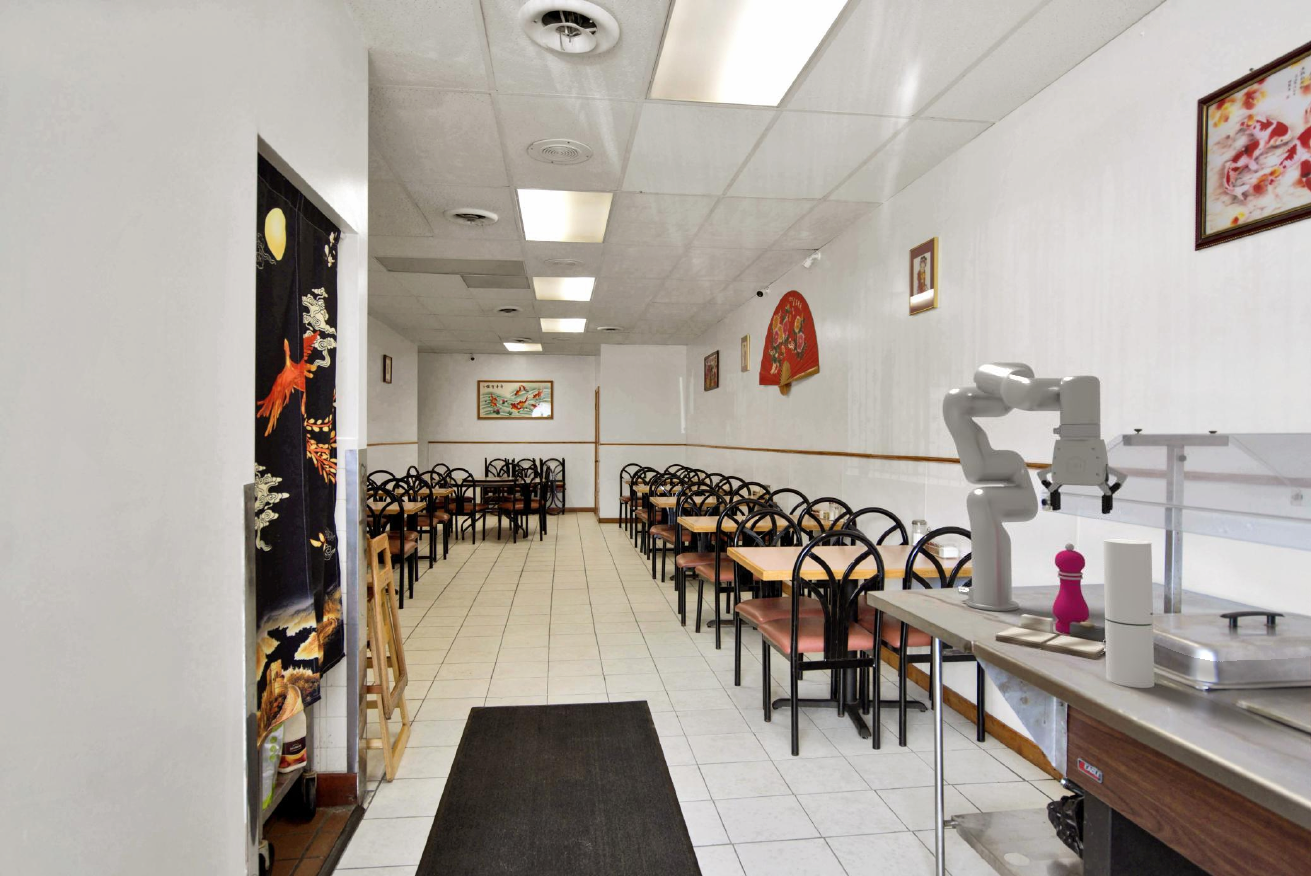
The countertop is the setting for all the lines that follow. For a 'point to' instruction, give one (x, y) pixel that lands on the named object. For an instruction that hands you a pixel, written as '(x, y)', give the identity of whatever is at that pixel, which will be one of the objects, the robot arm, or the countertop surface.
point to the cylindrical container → (1129, 612)
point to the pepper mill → (1069, 590)
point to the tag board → (1056, 636)
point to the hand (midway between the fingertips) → (1080, 511)
